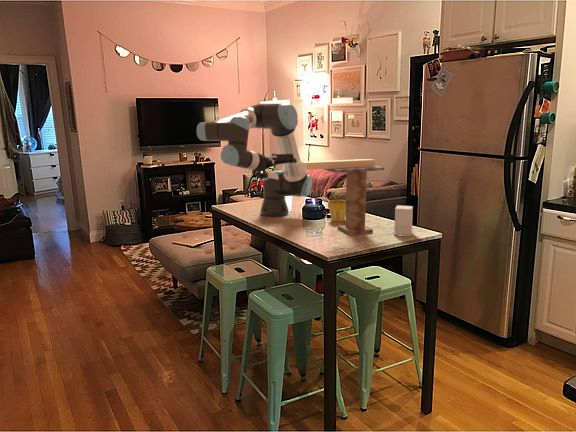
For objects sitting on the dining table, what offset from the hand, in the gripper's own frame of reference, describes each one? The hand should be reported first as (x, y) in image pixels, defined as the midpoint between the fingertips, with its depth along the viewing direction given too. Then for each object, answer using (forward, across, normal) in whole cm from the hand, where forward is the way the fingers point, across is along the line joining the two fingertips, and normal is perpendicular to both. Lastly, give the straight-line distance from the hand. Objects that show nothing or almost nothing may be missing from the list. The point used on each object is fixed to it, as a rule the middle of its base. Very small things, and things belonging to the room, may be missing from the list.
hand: (288, 170), depth 214 cm
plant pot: (+43, -10, -16) cm, 47 cm away
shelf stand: (+29, +4, -29) cm, 41 cm away
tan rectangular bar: (+16, +16, -4) cm, 22 cm away
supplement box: (+41, +24, -37) cm, 60 cm away
